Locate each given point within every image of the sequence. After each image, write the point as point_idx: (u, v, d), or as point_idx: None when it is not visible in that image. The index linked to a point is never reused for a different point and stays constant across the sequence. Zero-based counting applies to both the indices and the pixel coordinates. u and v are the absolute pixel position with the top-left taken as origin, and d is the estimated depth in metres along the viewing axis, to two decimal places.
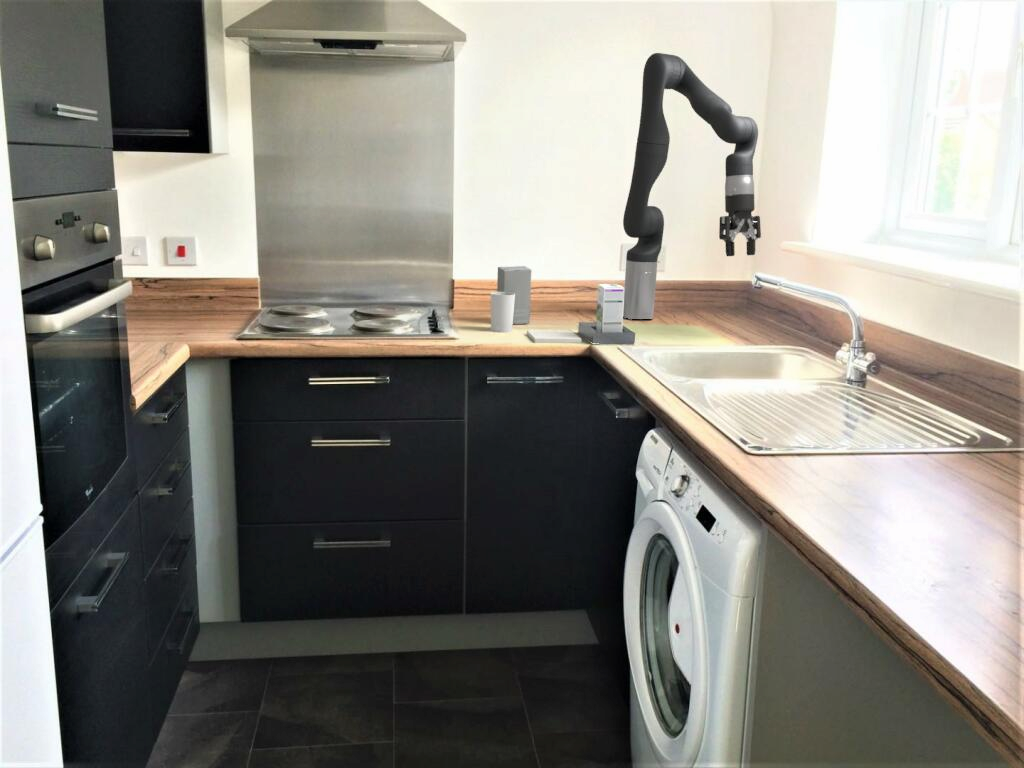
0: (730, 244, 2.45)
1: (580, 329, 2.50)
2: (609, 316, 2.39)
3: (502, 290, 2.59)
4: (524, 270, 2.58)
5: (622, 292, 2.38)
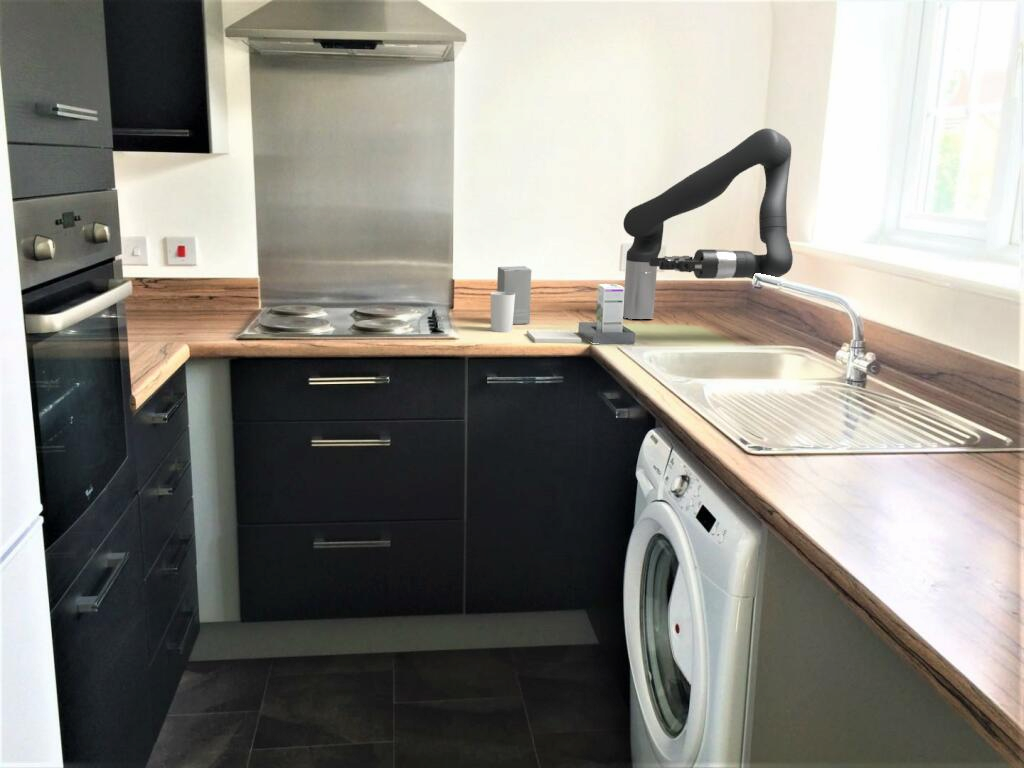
0: None
1: (580, 329, 2.50)
2: (608, 316, 2.39)
3: (502, 290, 2.59)
4: (524, 270, 2.58)
5: (622, 292, 2.38)
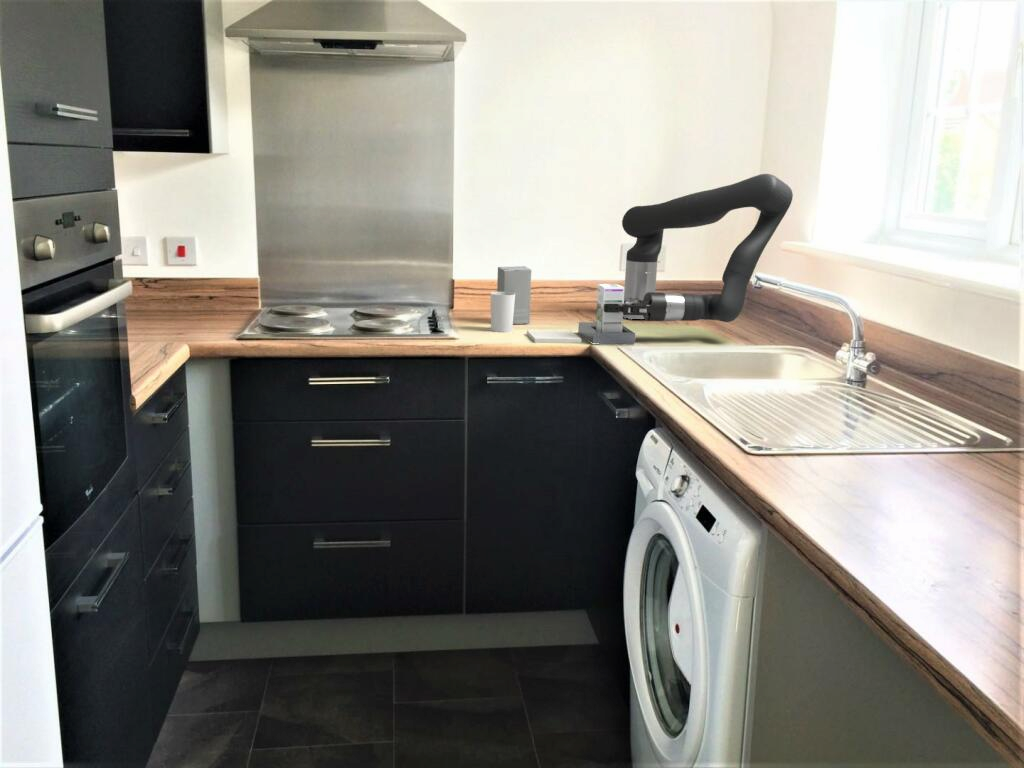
0: (616, 311, 2.38)
1: (580, 329, 2.50)
2: (608, 315, 2.39)
3: (502, 290, 2.59)
4: (524, 270, 2.58)
5: (622, 292, 2.38)
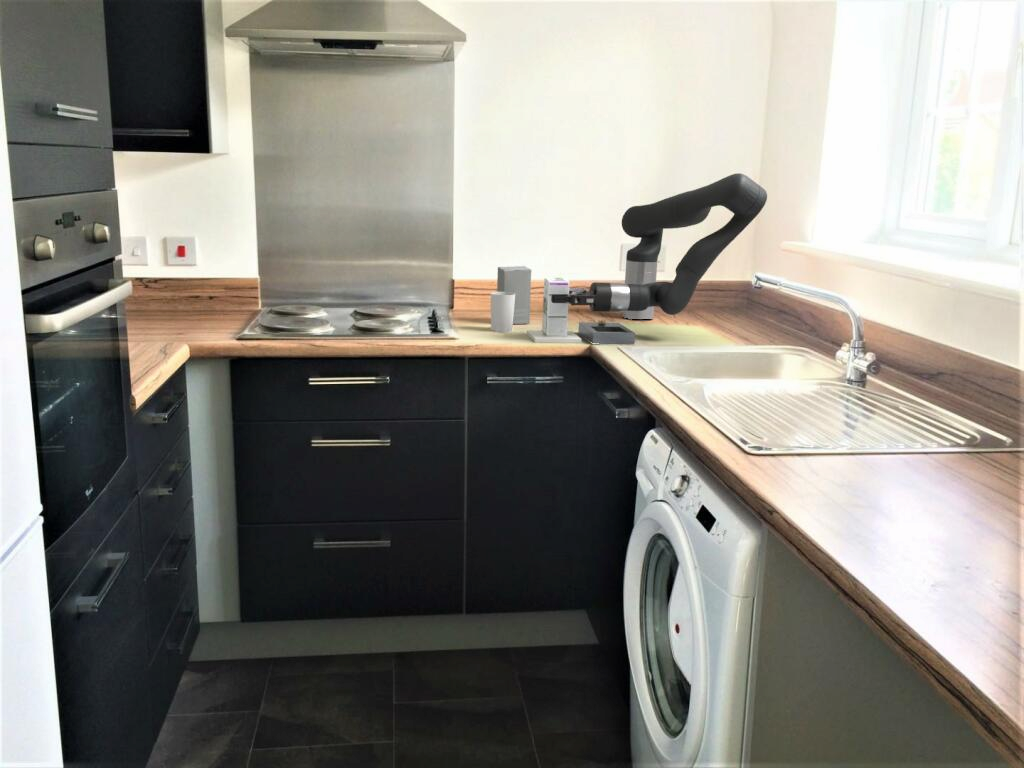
0: (563, 301, 2.37)
1: (580, 329, 2.50)
2: (553, 309, 2.39)
3: (502, 290, 2.59)
4: (524, 270, 2.58)
5: (567, 286, 2.38)
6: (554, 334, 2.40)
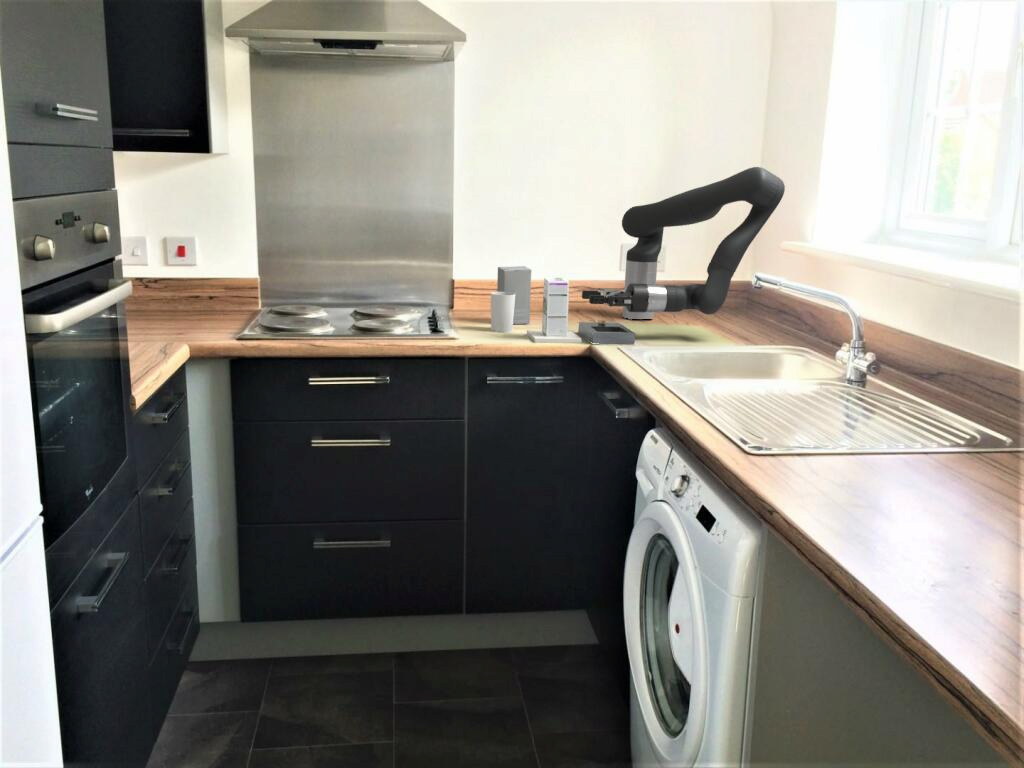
0: (601, 302, 2.38)
1: (580, 329, 2.50)
2: (553, 309, 2.39)
3: (502, 290, 2.59)
4: (524, 270, 2.58)
5: (567, 286, 2.38)
6: (554, 334, 2.40)
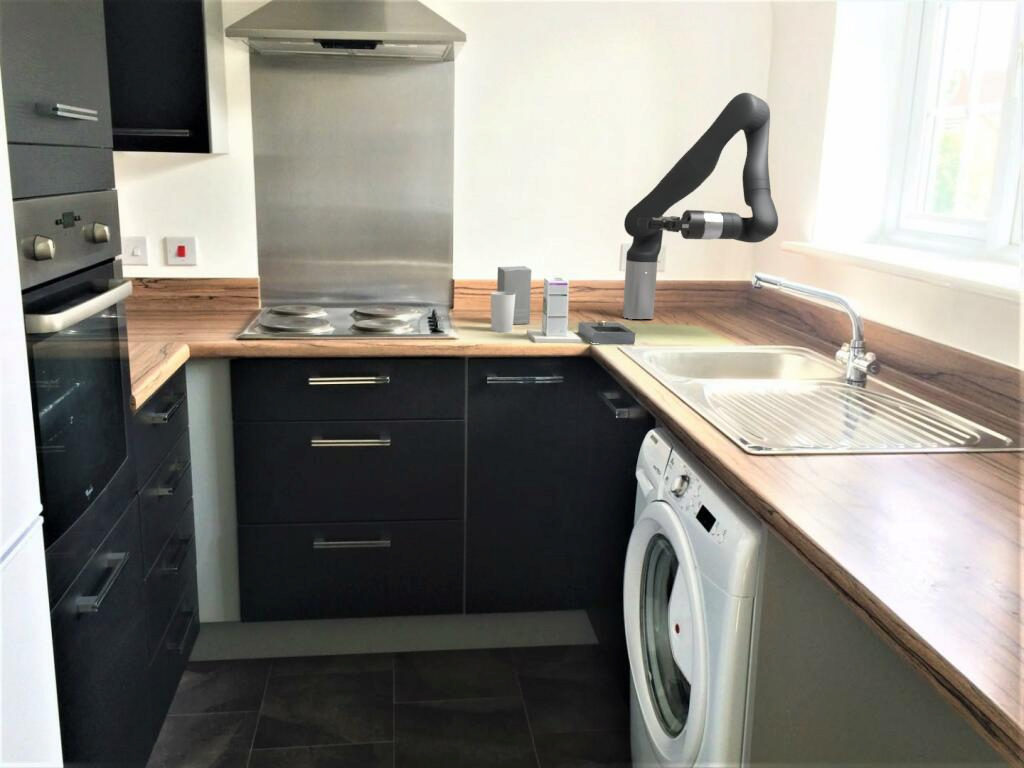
0: (659, 227, 2.40)
1: (580, 329, 2.50)
2: (553, 309, 2.39)
3: (502, 290, 2.59)
4: (524, 270, 2.58)
5: (566, 286, 2.38)
6: (554, 334, 2.40)
